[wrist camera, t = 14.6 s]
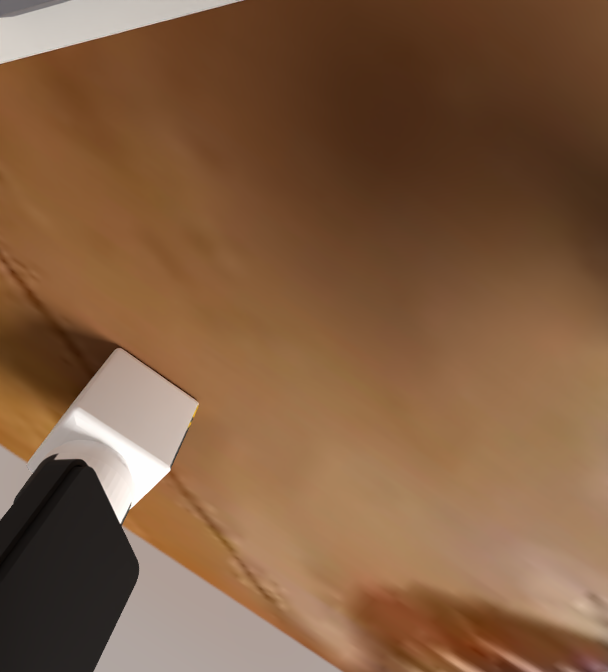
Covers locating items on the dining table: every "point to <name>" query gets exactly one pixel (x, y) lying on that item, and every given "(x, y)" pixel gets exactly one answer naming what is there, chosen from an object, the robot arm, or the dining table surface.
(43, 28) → the charging board
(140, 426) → the medicine bottle
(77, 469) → the robot arm
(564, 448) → the dining table surface
